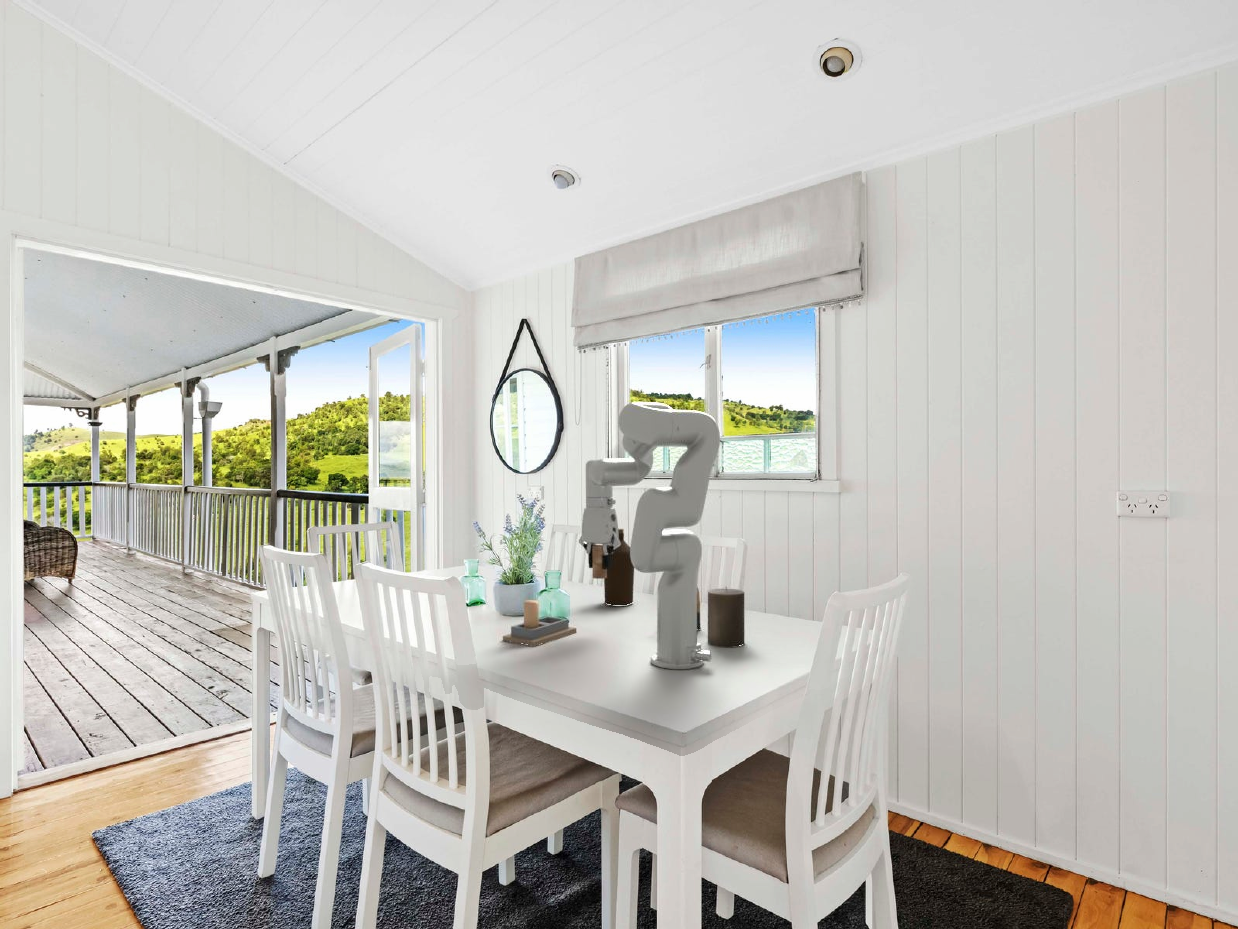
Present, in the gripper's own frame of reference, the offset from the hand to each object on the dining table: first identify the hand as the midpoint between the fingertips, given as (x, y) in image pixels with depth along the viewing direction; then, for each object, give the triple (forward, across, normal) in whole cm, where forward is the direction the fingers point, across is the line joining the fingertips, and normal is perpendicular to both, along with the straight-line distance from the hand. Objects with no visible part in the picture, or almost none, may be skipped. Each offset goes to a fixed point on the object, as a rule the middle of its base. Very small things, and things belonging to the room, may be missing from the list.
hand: (599, 567), depth 202 cm
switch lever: (+3, 0, 0) cm, 3 cm away
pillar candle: (+18, -35, -7) cm, 41 cm away
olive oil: (+17, +16, -33) cm, 41 cm away
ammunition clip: (+18, -18, -14) cm, 30 cm away
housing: (+18, +10, +15) cm, 25 cm away
